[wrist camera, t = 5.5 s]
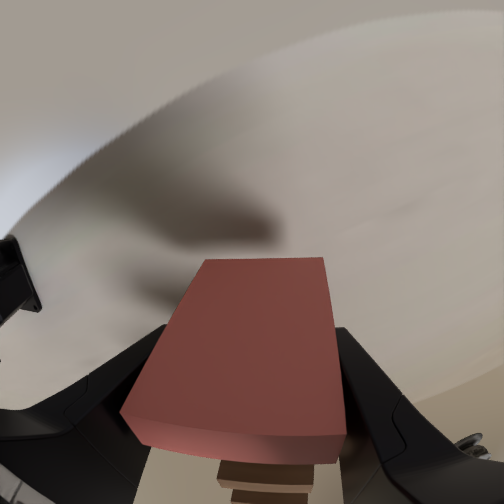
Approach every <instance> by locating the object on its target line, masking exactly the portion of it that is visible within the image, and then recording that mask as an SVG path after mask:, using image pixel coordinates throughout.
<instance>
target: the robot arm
mask: <svg viewBox="0 0 504 504" xmlns="http://www.w3.org/2000/svg"><path fill="white" fill-rule="evenodd" d="M19 309H22V310H27V311H32V312H37V313H38V312H40V311H41V310H42V306H41V304H40V301H39V299H38V297H37V294H36V292H35V290H34V287H33V285H32V282H31V280H30V277H29V275H28V272H27V269H26V267H25V264H24V261H23V258H22V255H21V252H20V249H19V246H18V243H17V241H16V240H15V239H4V240H0V327H1V326H2V325H3V324H4V323H5V322H6V321H7V320H8V319H9V318H10V317H12V316H13V315H14V314H15V313H16V312H17V311H18V310H19ZM166 326H167V324H163V325H161V326H160V327H158V328H157V329H155V330H154V331H153V332H151V333H150V334H148V335H147V336H145V337H144V338H142V339H141V340H139V341H138V342H136V343H135V344H133V345H132V346H130V347H129V348H127V349H126V350H124V351H123V352H121V353H120V354H118V355H117V356H115V357H113V358H112V359H110V360H109V361H107V362H106V363H104V364H103V365H101V366H100V367H98V368H97V369H95V370H94V371H92V372H91V373H89V375H86V376H85V377H83V378H82V379H80V380H78V381H77V382H75V383H74V384H72V385H70V386H69V387H67V388H65V389H64V390H62V391H60V392H58V393H56V394H54V395H53V396H51V397H49V398H47V399H45V400H43V401H41V402H39V403H37V404H35V405H33V406H31V407H29V408H27V409H23V410H7V409H0V504H133V501H134V498H135V495H136V492H137V488H138V486H139V482H140V479H141V476H142V473H143V470H144V467H145V464H146V461H147V458H148V455H149V452H150V449H151V446H147V445H143V444H142V443H141V442H140V440H139V439H138V438H137V436H136V435H135V434H134V432H133V431H132V430H131V428H130V427H129V425H128V424H127V423H126V421H125V420H124V418H123V417H122V415H121V414H120V410H121V408H122V406H123V404H124V403H125V401H126V399H127V397H128V395H129V393H130V391H131V389H132V387H133V386H134V384H135V382H136V380H137V378H138V376H139V374H140V373H141V371H142V369H143V367H144V365H145V363H146V362H147V360H148V358H149V356H150V354H151V352H152V351H153V349H154V347H155V345H156V343H157V342H158V340H159V338H160V336H161V335H162V333H163V331H164V329H165V327H166ZM335 332H336V339H337V347H338V354H339V362H340V370H341V379H342V388H343V398H344V408H345V420H346V432H347V434H346V437H345V440H344V443H343V446H342V449H341V451H340V454H339V461H340V470H341V479H342V488H343V499H344V504H504V462H498V461H492V460H486V459H481V458H476V457H473V456H470V455H468V454H466V453H465V452H463V451H461V450H460V449H459V448H458V447H456V446H455V445H454V444H453V443H452V442H451V441H450V440H449V439H448V438H446V437H445V436H444V435H443V434H442V433H441V432H440V431H439V430H438V429H436V428H435V427H434V426H433V425H432V424H431V423H430V422H429V421H428V420H427V419H426V418H425V417H424V416H423V415H422V414H421V413H420V412H419V411H418V410H417V409H416V408H415V407H414V406H413V405H412V404H411V402H410V401H409V400H408V399H407V398H406V397H405V395H402V392H401V391H400V390H399V389H398V387H397V386H396V385H395V384H394V383H393V382H392V381H391V379H390V378H389V377H388V376H387V375H386V374H385V372H384V371H383V370H382V369H381V368H380V367H379V366H378V364H377V363H376V362H375V361H374V360H373V359H372V358H371V356H370V355H369V354H368V353H367V352H366V351H365V350H364V348H363V347H362V346H361V345H360V344H359V343H358V342H357V341H356V339H355V338H354V337H353V336H352V335H351V334H350V333H349V332H348V330H347V329H346V328H344V327H336V328H335ZM0 362H1V360H0Z"/></svg>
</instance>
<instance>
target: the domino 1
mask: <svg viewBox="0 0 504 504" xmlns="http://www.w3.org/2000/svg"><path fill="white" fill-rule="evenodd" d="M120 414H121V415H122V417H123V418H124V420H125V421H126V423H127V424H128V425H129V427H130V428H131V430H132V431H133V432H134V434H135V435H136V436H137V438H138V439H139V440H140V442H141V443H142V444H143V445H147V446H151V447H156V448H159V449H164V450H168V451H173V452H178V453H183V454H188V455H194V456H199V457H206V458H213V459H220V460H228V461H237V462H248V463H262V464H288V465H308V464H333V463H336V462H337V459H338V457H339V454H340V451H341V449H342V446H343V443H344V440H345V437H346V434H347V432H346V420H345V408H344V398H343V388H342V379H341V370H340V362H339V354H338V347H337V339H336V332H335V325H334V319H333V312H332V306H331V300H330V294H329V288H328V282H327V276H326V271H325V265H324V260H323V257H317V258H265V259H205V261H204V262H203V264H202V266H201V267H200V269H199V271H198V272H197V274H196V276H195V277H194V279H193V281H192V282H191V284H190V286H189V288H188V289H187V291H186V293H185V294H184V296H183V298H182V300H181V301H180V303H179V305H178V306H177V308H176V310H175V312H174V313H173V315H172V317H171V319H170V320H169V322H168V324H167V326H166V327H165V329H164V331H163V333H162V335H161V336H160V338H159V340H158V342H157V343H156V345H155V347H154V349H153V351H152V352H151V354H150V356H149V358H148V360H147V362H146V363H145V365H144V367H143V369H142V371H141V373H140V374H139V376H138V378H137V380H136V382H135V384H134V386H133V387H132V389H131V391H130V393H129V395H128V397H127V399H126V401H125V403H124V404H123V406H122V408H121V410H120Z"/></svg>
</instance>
